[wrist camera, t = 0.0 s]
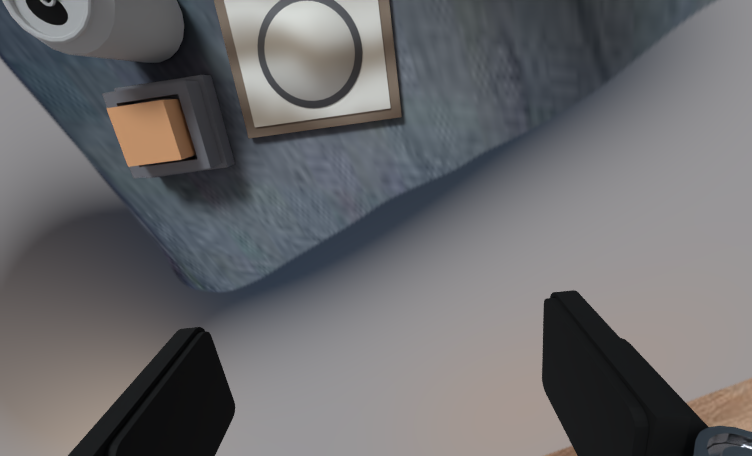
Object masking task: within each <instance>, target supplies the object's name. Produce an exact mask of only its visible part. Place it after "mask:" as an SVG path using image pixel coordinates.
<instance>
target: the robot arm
mask: <svg viewBox="0 0 752 456" xmlns="http://www.w3.org/2000/svg"><path fill="white" fill-rule="evenodd" d="M543 323H544V324H543V365H542V366H543V367H542V382H543V386H544V390H545V392H546V395H547V396H548V398H549V400H550V402H551V404H552V406H553V408H554V410H555V412H556V414H557V416H558V418H559V420H560V422H561V424H562V426H563V428H564V430H565V431H566V434H567V436H568V437H569V439H570V442H571V444H572V445H573V447H574V449H575V451H576V453H577V455H578V456H752V432H750V431H746V430H742V429H739V428H735V427H726V426H715V427H708V426H707V425H706V424H705V423H704V422H703V421H702V420H701V419H700V418H699V417H698V415H697V414H696V413H695V412H694V411H693V410H692V409H691V408H690V407H689V406H688V405H687V404H686V403H685V402H684V401H683V400H682V398H681V397H680V396H679V395H678V394H677V393H676V392H675V391H674V390H673V389H672V388H671V387H670V386H669V385H668V384H667V382H666V381H665V380H664V379H663V378H662V377H661V376H660V375H659V374H658V373H657V372H656V371H655V370H654V369H653V368H652V367H651V366H650V365H649V363H648V362H647V361H646V360H645V359H644V358H643V357H642V356H641V355H640V354H639V353H638V352H637V351H636V349H635V348H634V347H633V346H632V345H631V344H630V343H629V342H627V341H626V340H625V339H622V338H620V337H619V336H618V335H617V334H616V333H615V332H614V331H613V330H612V329H611V328H610V327H609V326H608V324H607V323H606V322H605V321H604V320H603V319H602V318H601V317H600V316H599V315H598V314H597V312H596V311H594V309H593V308H592V307H591V306H590V305H589V304H588V303H587V302H586V301H585V299H583V297H582V296H581V295H580V294H579V293H578V292H577V291H564V292H554V293H552V294H551V296H550V298H549V299H545V301H544V321H543ZM234 413H235V403H234V400H233V397H232V394H231V391H230V388H229V385H228V383H227V380H226V377H225V374H224V371H223V368H222V365H221V363H220V360H219V357H218V354H217V351H216V348H215V345H214V343H213V340H212V337H211V335H210V333H209V332H205V330H204V329H203V328H201V327H195V328H186V329H180V330H178V331H177V332H176V333H175V334H174V335H173V337H172V338H171V339H170V340H169V341H168V342H167V343H166V345H165V346H164V347H163V348H162V349H161V350H160V351H159V353H158V354H157V355H156V356H155V357H154V358H153V359H152V361H151V362H150V363H149V364H148V365H147V366H146V367H145V368H144V370H143V371H142V372H141V373H140V374H139V375H138V376H137V378H136V379H135V380H134V381H133V382H132V383H131V384H130V386H129V387H128V388H127V389H126V390H125V391H124V393H123V394H122V395H121V396H120V397H119V398H118V399H117V400H116V402H115V403H114V404H113V405H112V406H111V407H110V408H109V410H108V411H107V412H106V413H105V414H104V415H103V417H102V418H101V419H100V420H99V421H98V422H97V424H95V425H94V427H93V428H92V429H91V430H90V431H89V432H88V434H87V435H86V436H85V437H84V438H83V439H82V440H81V441H80V443H79V444H78V445H77V446H76V447H75V448H74V449H73V451H72V452H71V453H70V454H69V455H68V456H215V454H216V452H217V450H218V448H219V446H220V444H221V442H222V440H223V437H224V435H225V433H226V431H227V429H228V427H229V425H230V423H231V421H232V419H233V416H234Z"/></svg>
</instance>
